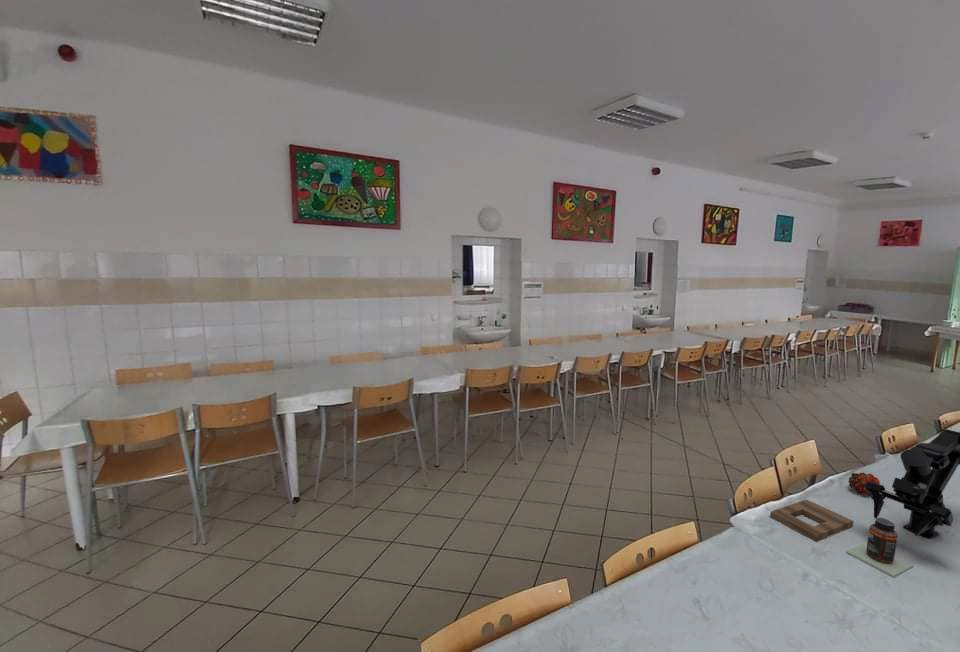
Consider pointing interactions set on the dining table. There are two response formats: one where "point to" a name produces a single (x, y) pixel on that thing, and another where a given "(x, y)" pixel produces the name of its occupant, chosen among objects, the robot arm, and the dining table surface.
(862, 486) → the dragon fruit
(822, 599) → the dining table surface
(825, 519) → the socket board
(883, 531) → the supplement bottle
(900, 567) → the sage pad
